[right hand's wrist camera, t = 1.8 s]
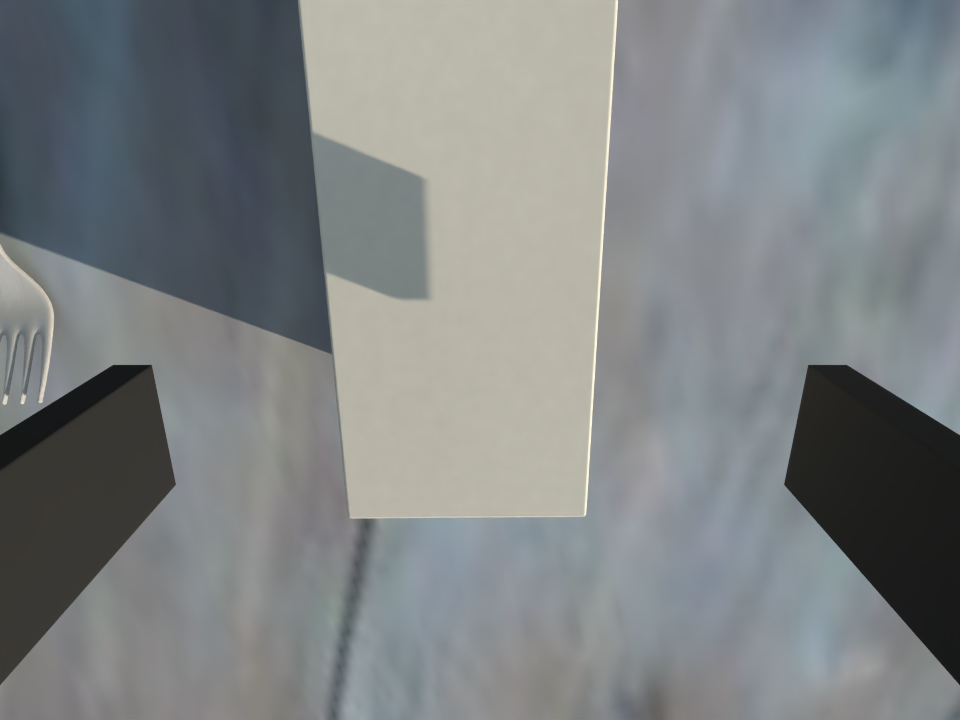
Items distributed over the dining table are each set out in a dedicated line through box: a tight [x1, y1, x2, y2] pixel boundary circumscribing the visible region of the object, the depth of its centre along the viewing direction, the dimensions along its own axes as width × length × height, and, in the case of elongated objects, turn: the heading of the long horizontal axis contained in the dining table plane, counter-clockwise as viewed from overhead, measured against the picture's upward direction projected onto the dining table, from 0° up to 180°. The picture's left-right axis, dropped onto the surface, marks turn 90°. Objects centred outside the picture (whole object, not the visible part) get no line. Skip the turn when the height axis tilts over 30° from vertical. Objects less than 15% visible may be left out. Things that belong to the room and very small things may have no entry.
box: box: [298, 0, 618, 518], centre depth 17 cm, size 25×6×10 cm, turn 0°
